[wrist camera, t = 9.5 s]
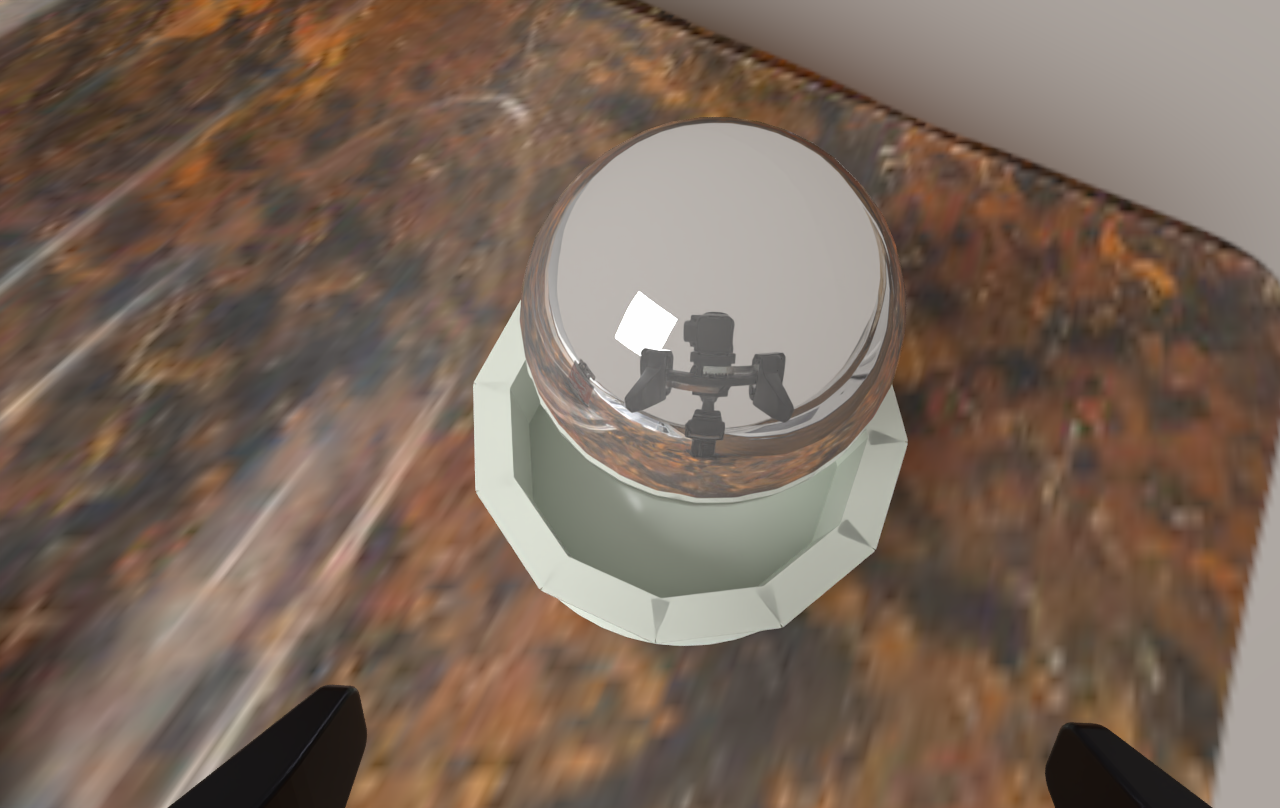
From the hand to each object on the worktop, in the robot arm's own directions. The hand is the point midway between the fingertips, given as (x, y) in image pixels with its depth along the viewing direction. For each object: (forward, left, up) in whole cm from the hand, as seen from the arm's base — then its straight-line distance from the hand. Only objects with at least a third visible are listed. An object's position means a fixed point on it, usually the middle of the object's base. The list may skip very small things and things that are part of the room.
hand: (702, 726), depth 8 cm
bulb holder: (+6, +2, -11) cm, 13 cm away
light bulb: (+6, +2, -10) cm, 12 cm away
